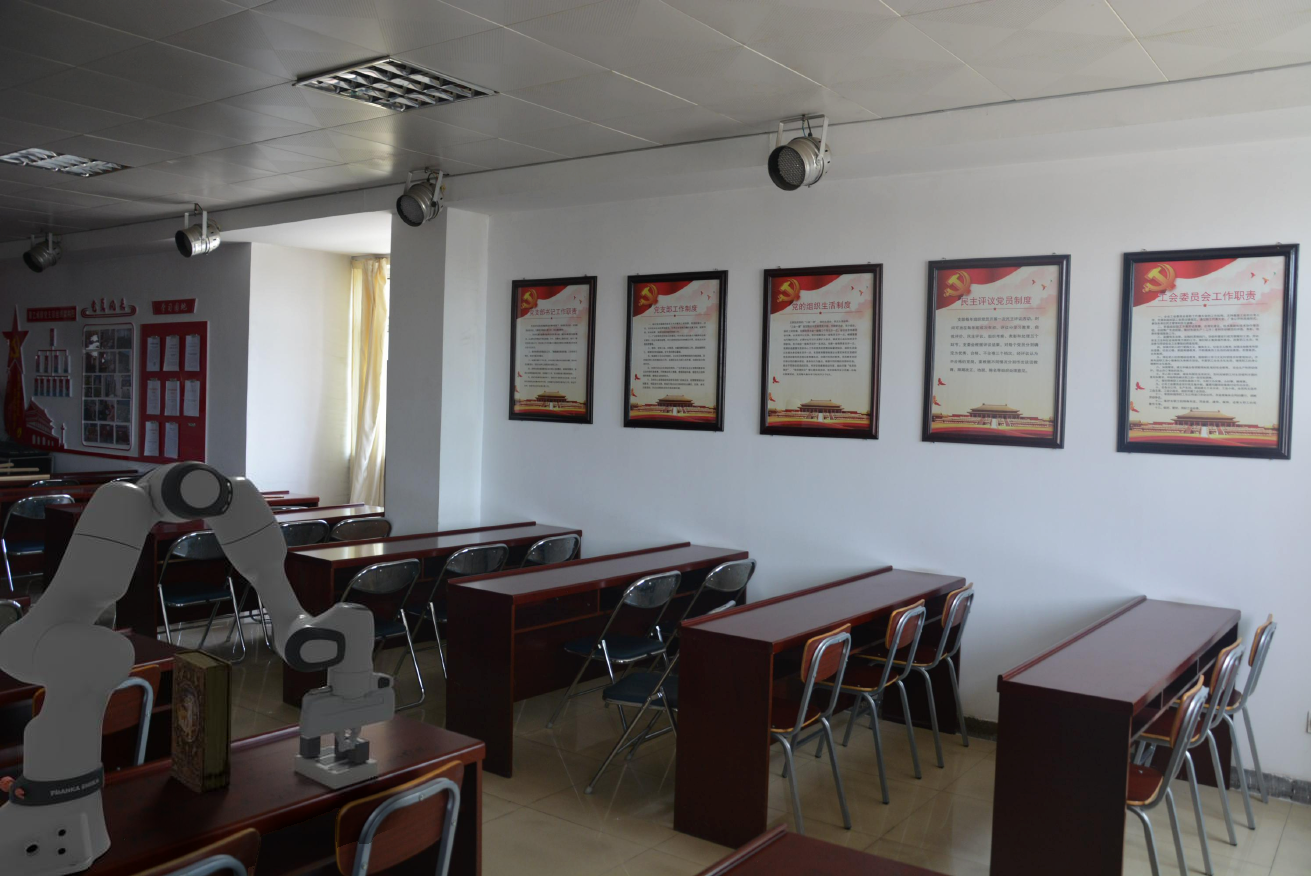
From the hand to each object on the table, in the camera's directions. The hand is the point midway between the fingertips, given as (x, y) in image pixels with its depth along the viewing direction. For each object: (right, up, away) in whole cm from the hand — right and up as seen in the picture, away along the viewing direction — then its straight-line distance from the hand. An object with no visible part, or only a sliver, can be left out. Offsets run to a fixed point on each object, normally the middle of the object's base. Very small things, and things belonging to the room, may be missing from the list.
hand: (346, 749), depth 194 cm
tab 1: (-9, -3, +5) cm, 11 cm away
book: (-29, -6, -2) cm, 30 cm away
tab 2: (+2, -3, +3) cm, 4 cm away
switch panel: (-4, -6, +4) cm, 8 cm away
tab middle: (-2, -3, +6) cm, 7 cm away
